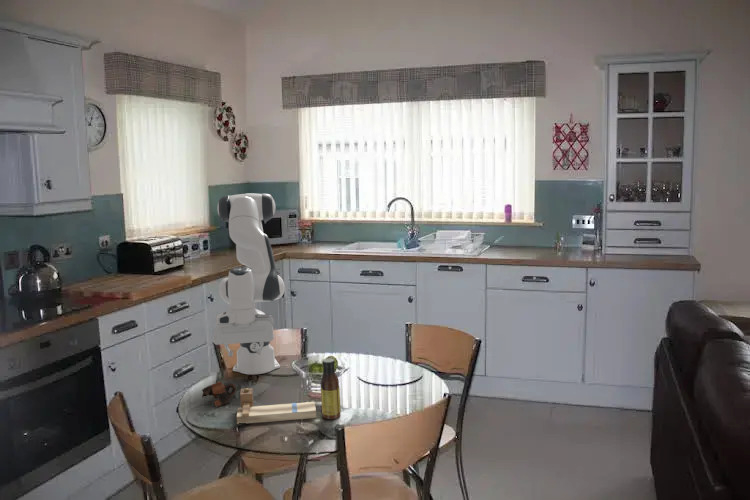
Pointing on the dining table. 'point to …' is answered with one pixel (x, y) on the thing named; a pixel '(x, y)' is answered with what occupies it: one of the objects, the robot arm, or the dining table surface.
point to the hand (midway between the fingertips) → (244, 355)
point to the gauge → (246, 400)
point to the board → (278, 412)
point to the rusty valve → (219, 392)
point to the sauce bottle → (330, 390)
